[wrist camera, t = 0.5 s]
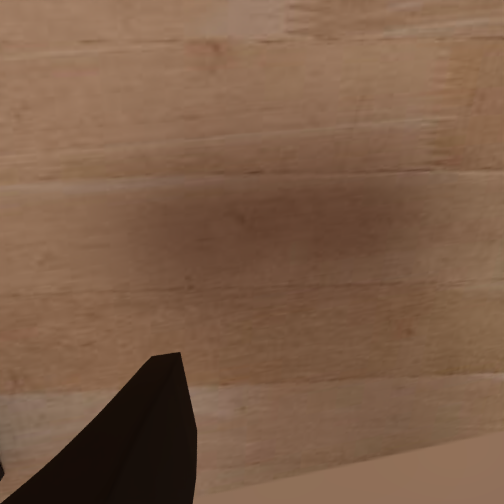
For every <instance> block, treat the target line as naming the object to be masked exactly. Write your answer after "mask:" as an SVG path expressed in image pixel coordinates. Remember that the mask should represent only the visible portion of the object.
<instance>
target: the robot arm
mask: <svg viewBox="0 0 504 504" xmlns="http://www.w3.org/2000/svg"><path fill="white" fill-rule="evenodd" d="M196 467H197V427H196V423H195V418H194V414H193V409H192V404H191V400H190V395H189V390H188V386H187V381H186V376H185V372H184V367H183V363H182V358H181V353H180V352H177V353H170V354H164V355H157V356H152V357H151V358H150V359H149V360H148V361H147V362H146V363H145V364H144V365H143V366H142V367H141V368H140V369H139V370H138V371H137V372H136V374H135V375H134V376H133V377H132V378H131V379H130V380H129V381H128V383H127V384H126V385H125V386H124V387H123V388H122V389H121V390H120V391H119V392H118V394H117V395H116V396H115V397H114V398H113V399H112V400H111V401H110V402H109V403H108V404H107V405H106V407H105V408H104V409H103V410H102V411H101V412H100V413H99V414H98V415H97V416H96V417H95V418H94V419H93V420H92V421H91V422H90V423H89V424H88V425H87V426H86V427H85V428H84V429H83V430H82V431H81V432H80V433H79V434H78V435H77V436H76V437H75V438H74V439H73V440H72V441H71V442H70V443H69V444H68V445H67V446H66V447H65V448H64V449H63V450H62V451H61V452H60V453H59V454H58V455H56V456H55V457H54V458H53V459H52V460H51V461H50V462H49V463H48V464H47V465H45V466H44V467H43V468H42V469H41V470H40V471H39V472H37V473H36V474H35V475H34V476H33V477H32V478H31V479H29V480H28V481H27V482H26V483H25V484H23V485H22V486H21V487H20V488H19V489H17V490H16V491H15V492H14V493H13V494H11V495H10V496H9V497H8V498H7V499H5V500H4V501H3V502H2V503H0V504H193V497H194V490H195V482H196Z"/></svg>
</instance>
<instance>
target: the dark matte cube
mask: <svg viewBox="0 0 504 504" xmlns="http://www.w3.org/2000/svg"><path fill="white" fill-rule="evenodd" d="M3 476H4V472H3V470H2V468H1V465H0V481H1V479H2V477H3Z"/></svg>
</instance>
